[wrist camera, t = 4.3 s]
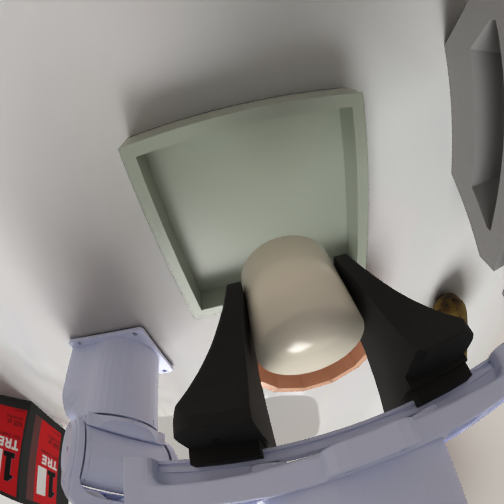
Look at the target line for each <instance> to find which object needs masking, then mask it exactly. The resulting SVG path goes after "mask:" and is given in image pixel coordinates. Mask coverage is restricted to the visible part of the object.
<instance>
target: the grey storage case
mask: <svg viewBox="0 0 504 504" xmlns="http://www.w3.org/2000/svg"><path fill="white" fill-rule="evenodd" d="M444 46H445V53H446V59H447V67H448V75H449V84H450V96H451V112H452V171H451V173H452V176H453V178H454V180H455V183H456V185H457V188H458V190H459V193H460V196H461V198H462V201H463V204H464V206H465V209H466V212H467V215H468V218H469V221H470V224H471V227H472V230H473V234H474V237H475V240H476V244H477V248H478V251H479V255H480V257H481V258H482V259H483V260H484V261H485V262H486V263H487V264H488V265H489V266H490V268H491V269H492V270H493V271H495V270H497V269H498V268H500V267H502V266H503V265H504V0H468V2H467V4H466V6H465V8H464V10H463V12H462V13H461V15H460V17H459V19H458V21H457V23H456V25H455V27H454V29H453V31H452V32H451V34H450V36H449V38H448V40H447V42H446V44H445V45H444ZM502 294H503V296H504V290H503V292H502Z"/></svg>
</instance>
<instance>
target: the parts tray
mask: <svg viewBox="0 0 504 504" xmlns="http://www.w3.org/2000/svg"><path fill="white" fill-rule="evenodd" d="M118 150H119V153H120V156H121V158H122V161H123V163H124V166H125V169H126V171H127V174H128V176H129V179H130V181H131V184H132V186H133V189H134V191H135V193H136V196H137V198H138V201H139V203H140V205H141V208H142V210H143V212H144V215H145V217H146V219H147V221H148V224H149V226H150V228H151V230H152V233H153V235H154V237H155V239H156V241H157V244H158V246H159V248H160V250H161V252H162V254H163V256H164V259H165V261H166V263H167V265H168V267H169V269H170V271H171V273H172V275H173V277H174V279H175V281H176V283H177V285H178V287H179V289H180V291H181V293H182V295H183V297H184V299H185V301H186V303H187V305H188V307H189V309H190V311H191V313H192V314H193V316H194V318H195V319H197V318H202V317H206V316H210V315H215V314H219V313H222V309H223V304H224V299H225V292H226V286H227V285H228V284H231V283H235V282H239V281H241V274H242V269H243V266H244V264H245V262H246V260H247V259H248V257H249V256H250V255H251V253H252V252H253V251H254V250H256V249H257V248H258V247H259V246H261V245H262V244H264V243H266V242H267V241H270V240H272V239H275V238H278V237H282V236H287V235H300V236H305V237H309V238H311V239H313V240H315V241H317V242H318V243H319V244H320V245H322V247H323V248H324V249H325V251H326V253H327V254H328V256H329V258H330V260H331V261H332V263H333V265H334V260H333V257H334V256H338V255H341V254H347V255H348V256H349V257H351V258H352V259H353V260H354V261H356V262H357V263H358V264H359V265H361V266H362V267H363V268H364V269H366V257H367V236H368V155H367V135H366V120H365V108H364V97H363V92H359V91H355V90H351V89H347V88H335V89H326V90H318V91H310V92H303V93H297V94H290V95H284V96H279V97H273V98H268V99H262V100H258V101H253V102H248V103H243V104H239V105H235V106H230V107H226V108H222V109H218V110H214V111H210V112H207V113H203V114H199V115H196V116H192V117H189V118H185V119H182V120H179V121H176V122H172V123H169V124H166V125H163V126H160V127H157V128H154V129H151V130H148V131H145V132H143V133H140V134H137V135H134V136H132V137H129V138H128V139H127V140H126V141H125V142H124V143H123V144H122V145H121V146H120V147H119V149H118ZM241 285H242V281H241ZM242 288H243V286H242Z"/></svg>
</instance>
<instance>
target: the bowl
mask: <svg viewBox="0 0 504 504" xmlns="http://www.w3.org/2000/svg"><path fill="white" fill-rule="evenodd" d="M366 359H367V356H366V353H365V350H364V348H363V346H362V343H361V341H359V342H358V344H357V345H356V346H355V347H354V348H353V349H352V350H351V351H350V352H349V353H348V354H347V355H346V356H344V357H343V358H341V359H340V360H338V361H337V362H335V363H333V364H331V365H329V366H327V367H325V368H322V369H320V370H317V371H313V372H310V373H305V374H298V375H281V374H276V373H272V372H270V371H267V370H266V369H264V368H263V367H261V365H260V364H259V363H258V369H259V375H260V380H261V385H262V387H263V388H265V389H268V390H271V391H273V392H293V391H305V390H309V389H312V388H316V387H319V386H322V385H326V384H329V383H332V382H334V381H336V380H338V379H339V378H341V377H343V376H345V375H346V374H348V373H350V372H351V371H353V370H355V369H356V368H358V367H359V366H360V365H361V364H362V363H363V362H364V361H365V360H366Z"/></svg>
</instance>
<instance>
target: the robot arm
mask: <svg viewBox="0 0 504 504" xmlns="http://www.w3.org/2000/svg"><path fill="white" fill-rule="evenodd" d="M333 260H334V267H335V268H336V270H337V272H338V274H339V275H340V277H341V279H342V281H343V283H344V285H345V286H346V288H347V290H348V292H349V294H350V296H351V297H352V299H353V301H354V303H355V305H356V307H357V309H358V310H359V312H360V314H361V316H362V318H363V320H364V332H363V335H362V337H361V339H360V341H361V343H362V346H363V348H364V350H365V353H366V356H367V358H368V361H369V364H370V367H371V370H372V372H373V375H374V378H375V382H376V385H377V388H378V391H379V395H380V398H381V402H382V406H383V410H384V413H383V414H380V415H378V416H375V417H373V418H370V419H367V420H365V421H362V422H359V423H356V424H354V425H351V426H348V427H345V428H342V429H339V430H336V431H332V432H329V433H326V434H323V435H319V436H316V437H312V438H308V439H305V440H301V441H297V442H293V443H289V444H285V445H281V446H276V443H275V439H274V435H273V431H272V427H271V423H270V419H269V415H268V411H267V407H266V402H265V398H264V393H263V389H262V385H261V380H260V375H259V369H258V361H257V358H256V353H255V348H254V343H253V338H252V333H251V328H250V323H249V318H248V312H247V306H246V301H245V296H244V291H243V288H242V285H241V281H239V282H235V283H231V284H228V285H227V286H226V292H225V299H224V304H223V309H222V313H221V317H220V321H219V324H218V327H217V330H216V333H215V336H214V339H213V342H212V344H211V347H210V349H209V352H208V354H207V356H206V358H205V360H204V362H203V364H202V366H201V368H200V370H199V372H198V374H197V375H196V377H195V378H194V380H193V382H192V383H191V385H190V387H189V388H188V390H187V391H186V392H185V394H184V395H183V397H182V398H181V399H180V401H179V402H178V403H177V405H176V406H175V410H174V418H173V433H174V439H175V440H177V441H178V442H179V443H181V444H182V445H184V446H185V447H187V448H189V458H190V459H184V460H178V457H177V455H176V453H175V451H174V449H173V448H172V446H170V444H168V443H165V434H163V433H161V432H158V425H157V424H158V422H157V421H158V376H159V374H162V373H169V372H172V371H173V367H172V365H171V364H170V363H169V362H168V360H167V359H166V358H165V356H164V355H163V354H162V353H161V351H160V350H159V349H158V347H157V346H156V345H155V343H154V342H153V341H152V339H151V338H150V337H149V335H148V334H147V332H146V331H145V330H144V329H143V328H142V327H136V328H131V329H126V330H120V331H115V332H110V333H104V334H99V335H93V336H88V337H82V338H76V339H71V340H70V341H69V344H70V346H71V347H72V348H73V350H72V354H71V358H70V362H69V366H68V370H67V375H66V379H65V383H64V388H63V405H64V409H65V412H66V414H67V416H68V418H69V419H70V422H69V423H68V425H67V428H66V431H65V435H64V439H63V445H62V453H61V471H62V473H61V486H62V489H63V491H64V494H65V496H66V498H67V499H68V500H69V501H70V502H71V503H72V504H468V503H467V500H466V498H465V495H464V492H463V489H462V486H461V483H460V481H459V478H458V475H457V472H456V470H455V468H454V465H453V462H452V460H451V457H450V455H449V452H448V450H447V447H446V445H445V442H447V441H448V440H450V439H452V438H453V437H455V436H457V435H458V434H460V433H461V432H463V431H464V430H466V429H467V428H469V427H470V426H472V425H473V424H475V423H476V422H477V421H479V420H480V419H482V418H483V417H485V416H486V415H487V414H489V413H490V412H491V411H493V410H494V409H495V408H497V407H498V406H499V405H501V404H502V403H503V402H504V343H502V344H501V345H499V346H498V347H497V348H496V349H495V350H494V351H493V352H492V353H491V354H490V356H489V358H488V359H486V360H485V361H483V362H482V363H480V364H479V365H477V366H475V367H474V368H472V369H471V370H470V369H469V368H468V366H467V364H466V363H465V362H466V361H467V358H466V356H465V354H464V353H465V352H466V350H467V348H468V347H469V345H470V343H471V341H472V339H473V332H472V331H471V329H470V328H469V326H468V325H467V323H466V322H465V321H464V320H463V318H460V317H456V316H452V315H449V314H445V313H442V312H440V311H437V310H434V309H432V308H429V307H427V306H424V305H422V304H420V303H418V302H416V301H414V300H412V299H410V298H408V297H406V296H404V295H402V294H401V293H399V292H397V291H396V290H394V289H392V288H391V287H389V286H388V285H386V284H385V283H383V282H382V281H381V280H379V279H378V278H376V277H375V276H374V275H372V274H371V273H370V272H368V271H367V270H366V269H364V268H363V267H362V266H361V265H359V264H358V263H357V262H356V261H354V260H353V259H352V258H351V257H349V256H348V255H347V254H341V255H338V256H334V257H333ZM311 455H312V456H311ZM308 456H309V457H308ZM304 457H306V458H304ZM299 458H302V459H299ZM296 459H299V460H296ZM291 460H296V461H293V462H290V463H287V461H291ZM81 485H84V486H88V487H92V488H96V489H101V490H105V491H109V492H115V493H120V494H124V496H121V495H115V494H111V493H106V492H101V491H97V490H92V489H89V488H86V487H83V486H81Z"/></svg>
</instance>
